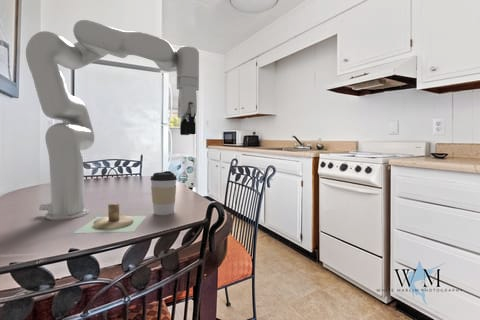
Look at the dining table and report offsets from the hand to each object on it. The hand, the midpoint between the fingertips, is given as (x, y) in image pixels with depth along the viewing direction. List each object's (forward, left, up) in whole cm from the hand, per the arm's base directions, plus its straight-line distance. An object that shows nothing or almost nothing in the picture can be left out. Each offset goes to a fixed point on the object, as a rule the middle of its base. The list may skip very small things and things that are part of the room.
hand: (187, 134), depth 90 cm
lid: (-21, -10, -28) cm, 37 cm away
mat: (-21, -10, -28) cm, 37 cm away
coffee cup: (-8, +2, -29) cm, 30 cm away
